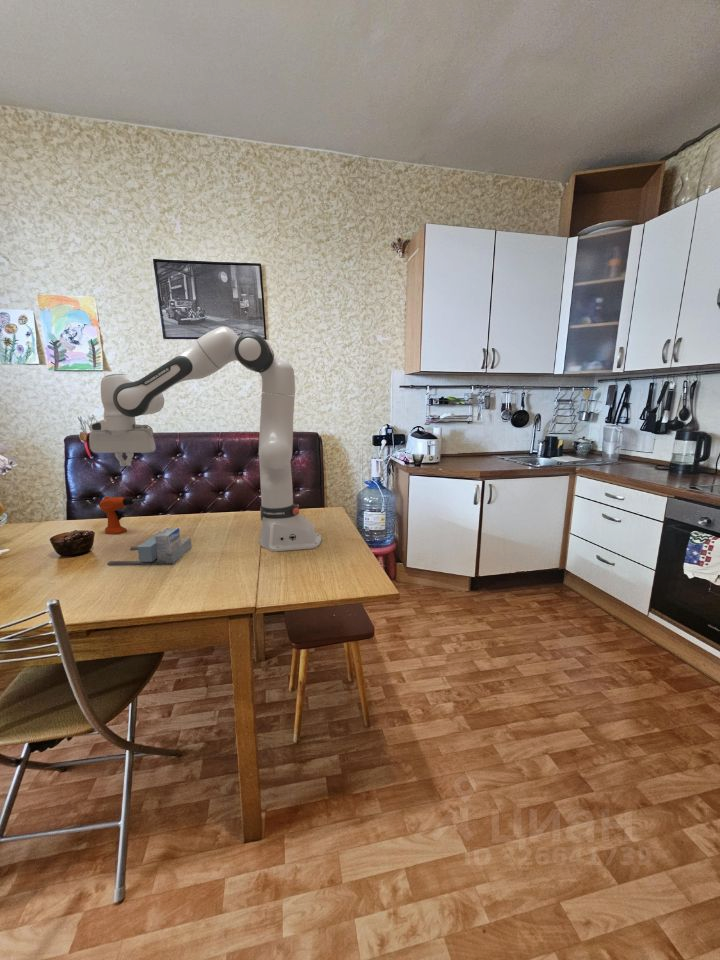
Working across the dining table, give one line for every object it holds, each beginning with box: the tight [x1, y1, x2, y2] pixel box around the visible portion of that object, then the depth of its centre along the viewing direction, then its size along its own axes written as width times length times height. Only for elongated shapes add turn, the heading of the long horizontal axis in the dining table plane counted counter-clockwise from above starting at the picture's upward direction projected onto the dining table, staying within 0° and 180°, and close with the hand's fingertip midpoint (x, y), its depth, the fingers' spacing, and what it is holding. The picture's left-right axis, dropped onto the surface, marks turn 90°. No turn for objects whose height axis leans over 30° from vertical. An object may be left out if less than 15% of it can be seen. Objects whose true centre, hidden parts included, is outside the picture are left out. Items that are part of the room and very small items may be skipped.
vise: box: [107, 537, 192, 566], centre depth 128 cm, size 20×14×4 cm
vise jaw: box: [137, 531, 162, 562], centre depth 128 cm, size 4×14×5 cm, turn 0°
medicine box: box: [155, 527, 181, 561], centre depth 128 cm, size 8×4×9 cm, turn 0°
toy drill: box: [98, 496, 146, 535], centre depth 151 cm, size 5×19×15 cm, turn 87°
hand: (125, 465), depth 132 cm, fingers closed
